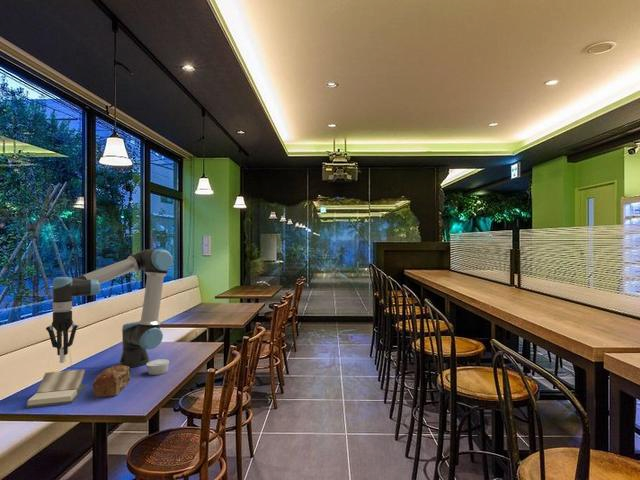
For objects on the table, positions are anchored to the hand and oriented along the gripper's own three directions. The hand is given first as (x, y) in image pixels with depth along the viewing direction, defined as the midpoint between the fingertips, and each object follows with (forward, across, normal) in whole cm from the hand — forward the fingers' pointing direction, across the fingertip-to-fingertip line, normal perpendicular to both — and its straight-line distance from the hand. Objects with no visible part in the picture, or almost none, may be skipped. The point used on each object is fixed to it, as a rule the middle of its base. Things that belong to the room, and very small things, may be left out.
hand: (62, 361), depth 183 cm
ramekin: (+13, +39, +16) cm, 44 cm away
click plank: (+9, 0, -2) cm, 10 cm away
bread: (+14, +22, -4) cm, 26 cm away
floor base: (+14, 0, -6) cm, 15 cm away
